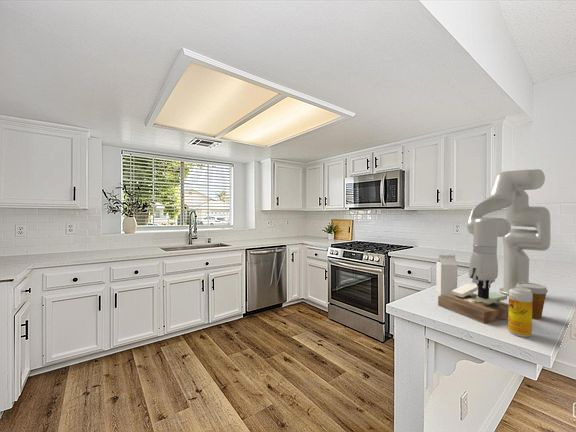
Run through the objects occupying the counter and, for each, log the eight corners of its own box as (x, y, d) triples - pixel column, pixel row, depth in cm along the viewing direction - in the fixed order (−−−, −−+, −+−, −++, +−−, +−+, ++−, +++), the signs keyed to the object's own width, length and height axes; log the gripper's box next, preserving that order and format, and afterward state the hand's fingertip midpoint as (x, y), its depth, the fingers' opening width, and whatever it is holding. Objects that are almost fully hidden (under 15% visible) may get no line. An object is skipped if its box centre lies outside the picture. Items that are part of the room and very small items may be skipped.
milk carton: (457, 296, 134) (457, 256, 133) (440, 295, 136) (441, 256, 135) (451, 292, 141) (452, 254, 140) (436, 291, 142) (436, 253, 142)
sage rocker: (494, 297, 116) (494, 291, 115) (507, 301, 111) (507, 295, 111) (476, 302, 112) (476, 296, 112) (489, 306, 108) (488, 300, 108)
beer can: (503, 330, 98) (504, 286, 97) (519, 329, 98) (521, 286, 98) (519, 338, 92) (520, 292, 91) (536, 337, 92) (537, 291, 92)
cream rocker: (469, 288, 126) (468, 282, 126) (480, 291, 121) (479, 285, 121) (452, 296, 123) (451, 290, 123) (463, 299, 118) (462, 294, 118)
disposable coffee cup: (515, 309, 117) (515, 280, 117) (546, 315, 111) (547, 284, 111) (514, 316, 110) (515, 285, 110) (547, 322, 104) (548, 290, 104)
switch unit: (468, 300, 128) (469, 290, 128) (517, 317, 109) (517, 304, 109) (438, 305, 122) (438, 294, 122) (483, 323, 103) (484, 310, 103)
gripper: (488, 248, 116) (487, 293, 116) (461, 249, 111) (460, 296, 111) (508, 251, 108) (506, 298, 109) (480, 252, 104) (478, 302, 104)
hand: (483, 297), depth 110 cm, fingers closed
